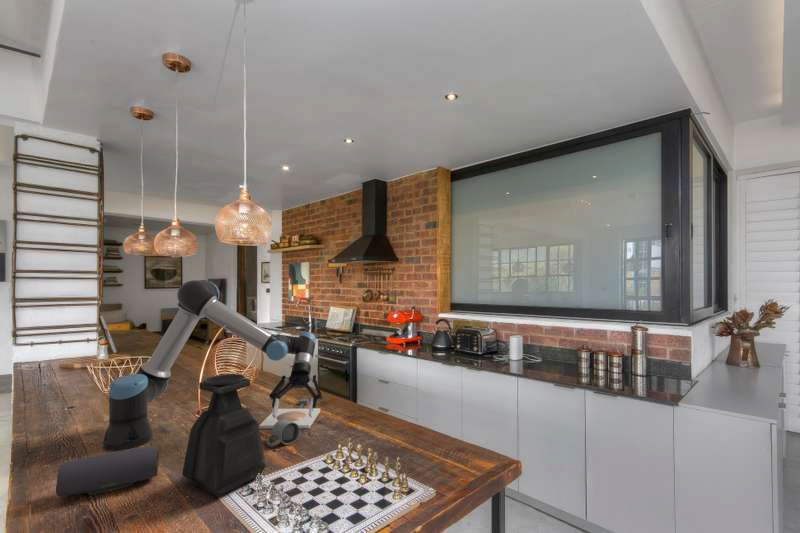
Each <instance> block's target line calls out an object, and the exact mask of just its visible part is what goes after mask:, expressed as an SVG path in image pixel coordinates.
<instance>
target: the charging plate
mask: <svg viewBox="0 0 800 533" xmlns="http://www.w3.org/2000/svg"><path fill="white" fill-rule="evenodd" d="M308 405H310V398H300V399H299V400H298V406H299V407H298V408H278V411H277V415H276V418H274V417H273V415H272V413H273V411H271V413H270V414H269V415H268V416H267V417H266V418H265V419H264V420H263V421H262V422H261V423H260V424H258V426H259V430H260V429H261V430H262V429H265V430H266V429H272V430H273V427H274V425H275V423H276V422H277V421H279V420H282V419H286V420H289V421H292V422H295V423H297V424H298V426H299V429H310V427H311V426H312V424H314V421H315V420H316V418H317V417H318V416H319V414H320V412H321V408H317V407H316V408H313V413H312V417H309V409H310V408H303V406H308Z"/></svg>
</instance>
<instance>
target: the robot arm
mask: <svg viewBox="0 0 800 533" xmlns="http://www.w3.org/2000/svg"><path fill="white" fill-rule="evenodd" d="M176 295H177V297H176V298H177V301H178V303H177V308H178V311H177V313H176V314H175V316H174V318H173V319H172V321H171V322H170V324H169V326H168V328H167V329H166V331H165V333H164V335H163V336H162V338H161V339H160V341H159V343H158V344H157V346H156V348H155V349H154V351H153V353H152V355H151V357H150V358H149V359H148V361H147V362H144V363H142V364H141V365H140V367H139V368H138V370H137V372H136V373H133V374H127V375H125V376H120V377H117V378H116V379H114V380H112V381H111V383H110V385H109V391H108V396H109V398H108V401H109V402H108V403H109V404H108V406H109V407H108V408H109V409H108V412H109V413H108V415H109V416H108V418H109V420H108V422H109V423H108V426H107V429H106V432H105V435H104V437H103V439H102V448H103V450H106V451H123V450H129V449H134V448H137V447H139V446H142V445H144V444H146V443H147V442H150V441H151V440H152V439H153V437H154V436H153V434H154V431H153V429H152V426H151V424H150V421H149V418H148V404H149V403H151V402H152V401H153V400H155V399H158V398H159V397H160V396H162V395H163V393H164V392H165V391H166V389H167V388H168V384H169V380H170V378H171V375H172V372H171V368H172V367H173V365H174V363H175V362H176V360H177V358H178V356H179V354H180V352H181V351H182V349H183V348H184V346H185V344H186V342H187V341H188V340H189V338H190V336H191V334H192V333H193V331H194V329H195V327H196V326H197V324H198V322H199V321H200V320H201V319H203V318H206V319H208V320H210V321H211V322H213V323H215V324H216V325H218V326H220V327H221V328H222V329H225V330H226V331H228V332H229V333H231V334H233V335H234V336H236V337H238V338H240V339H241V340H243V341H244V342H246V343H248V344H250V345H251V346H253V347H255V348H256V349H258V350H260V351H261V352H263V353H264V354H266V356H267V357H268V359H269V360H271V361H274V362H275V361H280V360H283V359H284V358H285V357H286V356H287V355H288V354H289V355H294V358H293V361H292V362H293V363H292V368H291V371H290V372H291V373H290V376H285V375H282V376H281V379H280V381H279V382H278V383H277V385H276V386H275V387H274V388H273V390H272V391H271V392H270V394H269V399H270V400H271V401H272V403H271V407H272V408H271V409H272V412H273V413H272V412H271V413H272V415H273V417H274V418H276V415H277V411H278V409H279V406H280V402H281V401H280V399H282V398H283V396H284V395H286V394H287V393H288V392H289V391H290V390H292V389H303V388H305V390H307V392H308V393H309V395H310V396H311V398H310V402H309V408H308V409H309V417H312V413H313V409H316V408H317V403H318V400H322V399H323V396H322V391H321V389H320V388H319V384H318V378H317V375H316V374H314V375H313V376H310V375H311V371H312V364H313V359H314V355H315V349H316V342H317V338H316V335H315V334H314V333H312V332H309V331H305V332H301V333H300V334H299V335H298V336H292V335H286V334H285V335H284V334H280V333H277V334H276V333H272V332H270V331H269V330H267V329H265V328H264V327H262V326H260V325H258V324H257V323H255V322H253V321H252V320H251V319H249V318H247V317H245V316H244V315H242V314H241V313H239V312H237V311H236V310H234V309H232V308H231V307H230V306H228V305H226V304H224V303H223V302H221V301H219V299H220V290H219V287H218V286H217V285H216V284H215V283H214V282H212V281H210V280H205V279H199V280H198V279H196V280H195V279H194V280H188V281H186V282H184V283H183V284H182V285H180V287H179V288H178V290H177V294H176ZM225 325H226V326H225ZM224 326H225V327H224ZM310 381H311V382H312V383H313V385H314V387H315V391H316V393H317V394H316V393H315V392H314V390H313V389H312V388H311V386H310V385H309V384H308V383H309V382H310Z"/></svg>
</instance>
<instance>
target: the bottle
mask: <svg viewBox="0 0 800 533" xmlns="http://www.w3.org/2000/svg"><path fill="white" fill-rule="evenodd" d="M198 386H199V387H198V389H199V390H200V391H201V390H202V391H206V392H208V393H209V392H210V393H212V394H211V398H210V401H209V404H208V406H207V410H204V411H202V412H201V414H200V415H199V417H198V418H197V419H196V420H195V421H194V423H193V425H192V426H191V427H190V432H189V437H188V442H187V446H186V452H185V458H184V463H183V468H182V476H183V477H184V478H186V479H187V480H188V481H189V482H191V483H192V484H193V485H196V486H197V487H199V488H201V489H203V490H205V491H207V492H209V493H211V494H213V495H215V496H217V497H218V496H221V495H224V494H226V493H228V492H230V491H232V490H234V489H235V488H238V487H240V486H242V485H244V484H246V483H248V482H250V481H251V480H253V479H256V478H257V477H258V476H257V475H258V473H260V475H261V474H262V473H263V471H264V470H265V469H266V467H267V464H266V463H267V462H266V457H265V453H264V448H263V443H262V438H261V431H260V429H259V422H258V421H257V420H256V419H255V417H254V415H252V413H251V412H250V411H249V409H248V408H245V407H243V406H242V404H241V399H240V397H239V394H238V391H239V390H241V389H244V388H245V389H246V388H247V387H250V386H251V379H249V378H246V377H245V376H244V375H243V374H239V373H238V374H237V373H227V374H218V375H214V376H210V377H208V378H206V379H204V380H203V381H200V382H199V384H198Z"/></svg>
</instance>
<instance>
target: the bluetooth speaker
mask: <svg viewBox="0 0 800 533" xmlns="http://www.w3.org/2000/svg"><path fill="white" fill-rule="evenodd" d="M159 454H160V453H159V445H154V446H152V445H151V446H145V447H135V448H128V449H123V450H116V451H112V452H107V453H102V454H97V455H92V456H91V455H90V456H88V457H82V458H78V459H77V458H76V459H74V460H70V461H65V462H63V463H61V464H60V465H59V467H58V471H57V478H56V485H55V493H56V496H57V497H66V496H72V495H77V494H85V493H87V495H89V496H91V495H97V494H102V493H107V492H106V491H108V492H111V491H110V490H113V491H116V490H115V489H117V490H120V489H119V488H121V489H125V488H129V487H131V486H133V485H134V483H137V482H140V481H144V480H148V479H151V478H154V477H156V476H158V472H159V465H160V464H159V461H160V458H159V456H160V455H159ZM128 486H129V487H128ZM124 487H125V488H124Z"/></svg>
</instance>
